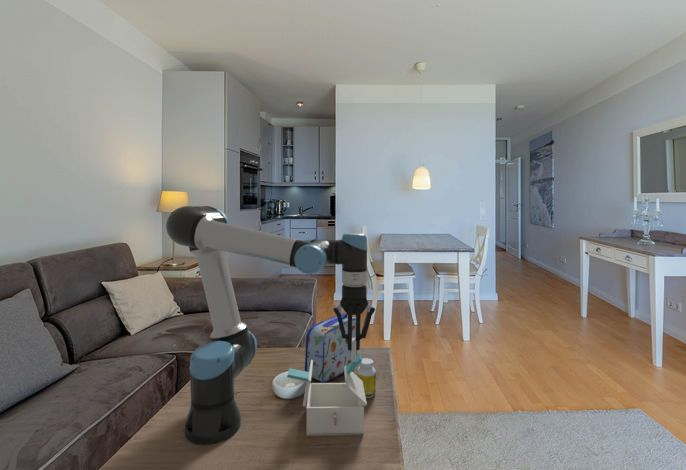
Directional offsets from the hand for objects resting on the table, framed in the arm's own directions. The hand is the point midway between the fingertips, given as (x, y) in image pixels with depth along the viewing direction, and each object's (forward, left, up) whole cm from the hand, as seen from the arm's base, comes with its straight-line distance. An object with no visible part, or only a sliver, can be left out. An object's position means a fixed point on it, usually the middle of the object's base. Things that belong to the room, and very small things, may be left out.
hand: (353, 359), depth 108 cm
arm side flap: (-13, -3, -5) cm, 15 cm away
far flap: (0, -3, -6) cm, 7 cm away
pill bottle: (+5, +12, -17) cm, 21 cm away
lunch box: (-6, +28, -17) cm, 34 cm away
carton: (-6, -5, -17) cm, 19 cm away
